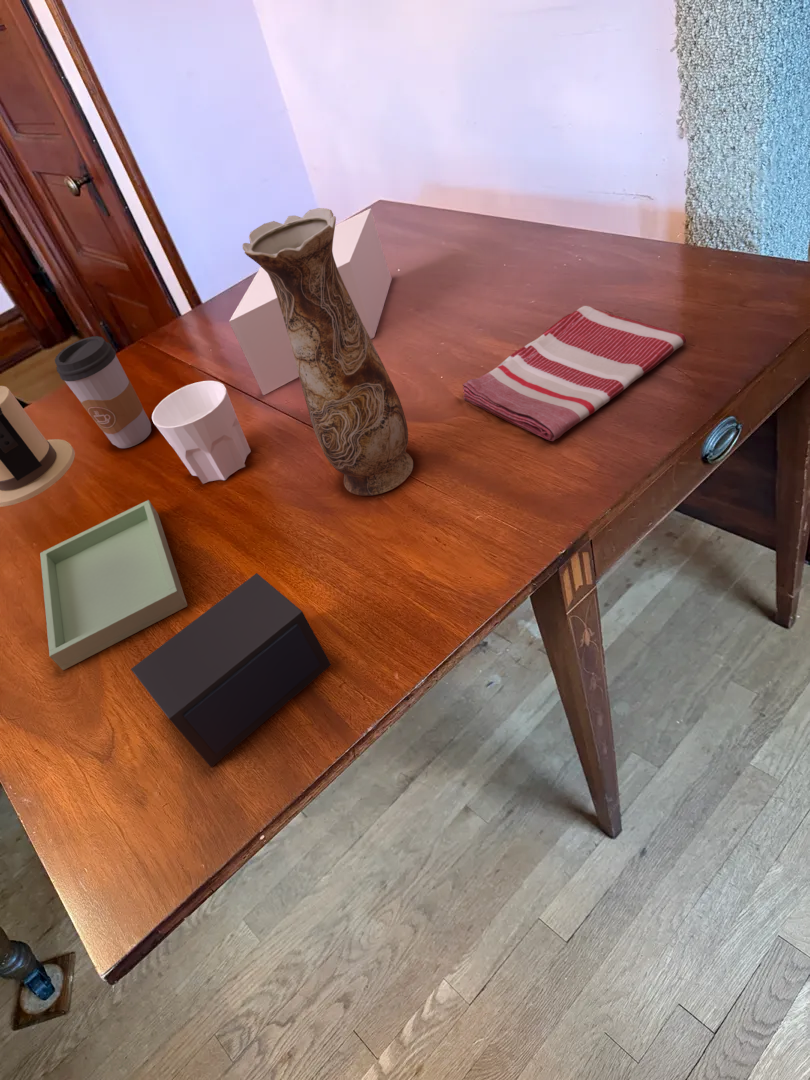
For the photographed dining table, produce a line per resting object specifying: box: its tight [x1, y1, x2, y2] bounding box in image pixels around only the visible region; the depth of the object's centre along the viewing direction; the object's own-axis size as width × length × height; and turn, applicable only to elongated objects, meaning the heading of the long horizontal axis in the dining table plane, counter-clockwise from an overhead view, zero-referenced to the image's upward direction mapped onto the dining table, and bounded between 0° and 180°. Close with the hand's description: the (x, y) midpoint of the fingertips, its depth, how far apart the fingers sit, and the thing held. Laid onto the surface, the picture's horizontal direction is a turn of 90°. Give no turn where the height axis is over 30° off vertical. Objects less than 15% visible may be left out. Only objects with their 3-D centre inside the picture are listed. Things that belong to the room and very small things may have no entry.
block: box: [228, 207, 393, 396], centre depth 117 cm, size 18×35×12 cm, turn 145°
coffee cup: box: [54, 335, 152, 449], centre depth 108 cm, size 8×8×15 cm
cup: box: [151, 380, 252, 485], centre depth 98 cm, size 10×10×10 cm
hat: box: [0, 385, 76, 508], centre depth 74 cm, size 10×10×9 cm
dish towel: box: [462, 305, 687, 442], centre depth 94 cm, size 17×23×3 cm
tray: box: [39, 499, 188, 671], centre depth 88 cm, size 20×15×3 cm
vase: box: [241, 207, 414, 496], centre depth 81 cm, size 10×11×30 cm
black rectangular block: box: [130, 572, 332, 768], centre depth 68 cm, size 14×8×8 cm, turn 130°
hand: (17, 459), depth 76 cm, fingers closed on hat, 7 cm apart
